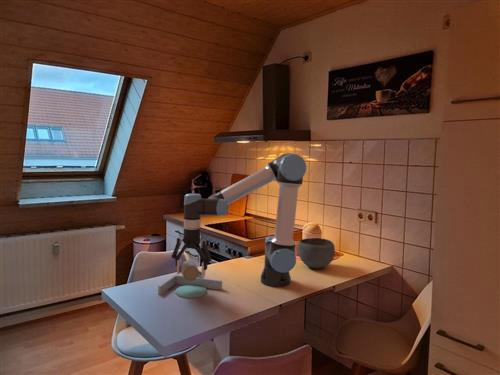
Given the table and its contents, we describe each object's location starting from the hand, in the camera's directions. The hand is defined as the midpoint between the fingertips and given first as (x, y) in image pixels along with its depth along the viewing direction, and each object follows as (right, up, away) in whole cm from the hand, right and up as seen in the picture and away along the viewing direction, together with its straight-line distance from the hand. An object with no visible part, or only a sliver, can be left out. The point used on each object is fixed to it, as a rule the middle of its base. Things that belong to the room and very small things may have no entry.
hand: (191, 275), depth 173 cm
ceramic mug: (0, -2, +1) cm, 2 cm away
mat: (0, -8, +1) cm, 8 cm away
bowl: (+65, -6, +44) cm, 79 cm away
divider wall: (+2, -7, +9) cm, 11 cm away
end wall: (-12, -7, +4) cm, 14 cm away
